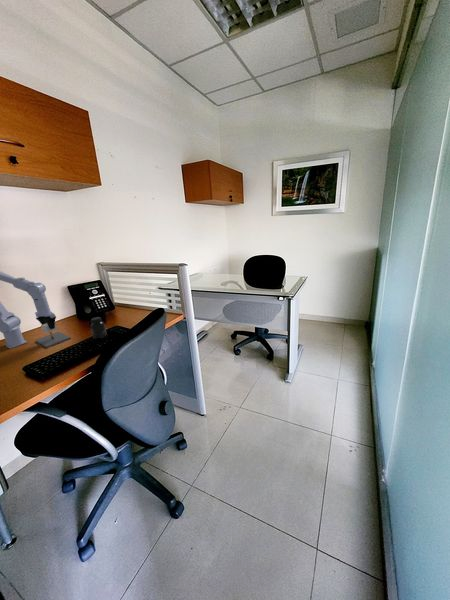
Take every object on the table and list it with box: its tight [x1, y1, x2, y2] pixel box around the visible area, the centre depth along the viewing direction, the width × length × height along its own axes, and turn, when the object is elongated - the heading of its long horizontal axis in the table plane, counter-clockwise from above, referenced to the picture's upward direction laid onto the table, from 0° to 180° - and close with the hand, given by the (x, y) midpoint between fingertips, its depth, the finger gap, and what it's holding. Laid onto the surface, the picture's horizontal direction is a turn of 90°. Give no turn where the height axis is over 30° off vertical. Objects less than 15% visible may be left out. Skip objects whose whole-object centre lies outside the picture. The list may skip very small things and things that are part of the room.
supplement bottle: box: [90, 316, 108, 339], centre depth 132 cm, size 7×7×12 cm
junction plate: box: [35, 331, 71, 349], centre depth 135 cm, size 16×12×5 cm
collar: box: [40, 322, 58, 334], centre depth 133 cm, size 5×5×4 cm
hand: (49, 328), depth 133 cm, fingers closed on collar, 5 cm apart
